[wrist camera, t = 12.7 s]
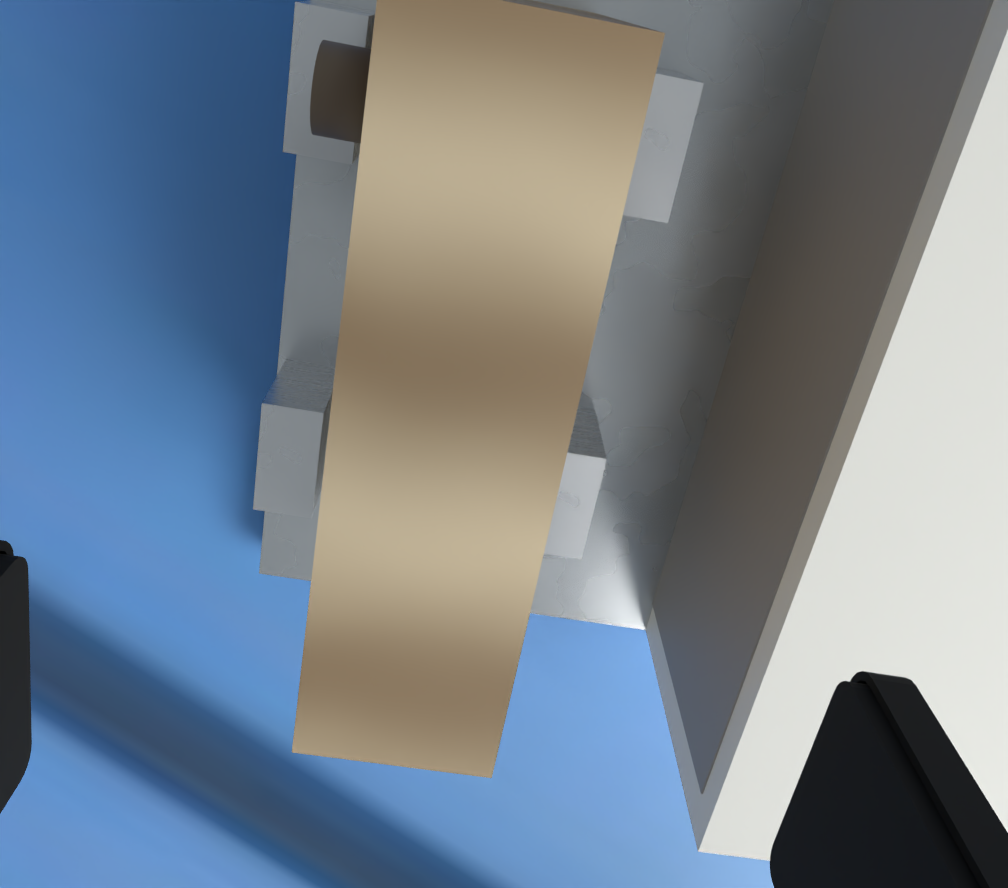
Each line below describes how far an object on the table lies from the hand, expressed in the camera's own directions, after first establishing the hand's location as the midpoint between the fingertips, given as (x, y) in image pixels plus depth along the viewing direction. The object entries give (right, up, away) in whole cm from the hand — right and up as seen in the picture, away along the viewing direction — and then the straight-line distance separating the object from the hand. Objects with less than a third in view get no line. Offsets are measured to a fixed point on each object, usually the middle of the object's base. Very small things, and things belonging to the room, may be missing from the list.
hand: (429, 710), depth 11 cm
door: (0, +7, +14) cm, 16 cm away
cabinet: (+12, +6, +16) cm, 21 cm away
